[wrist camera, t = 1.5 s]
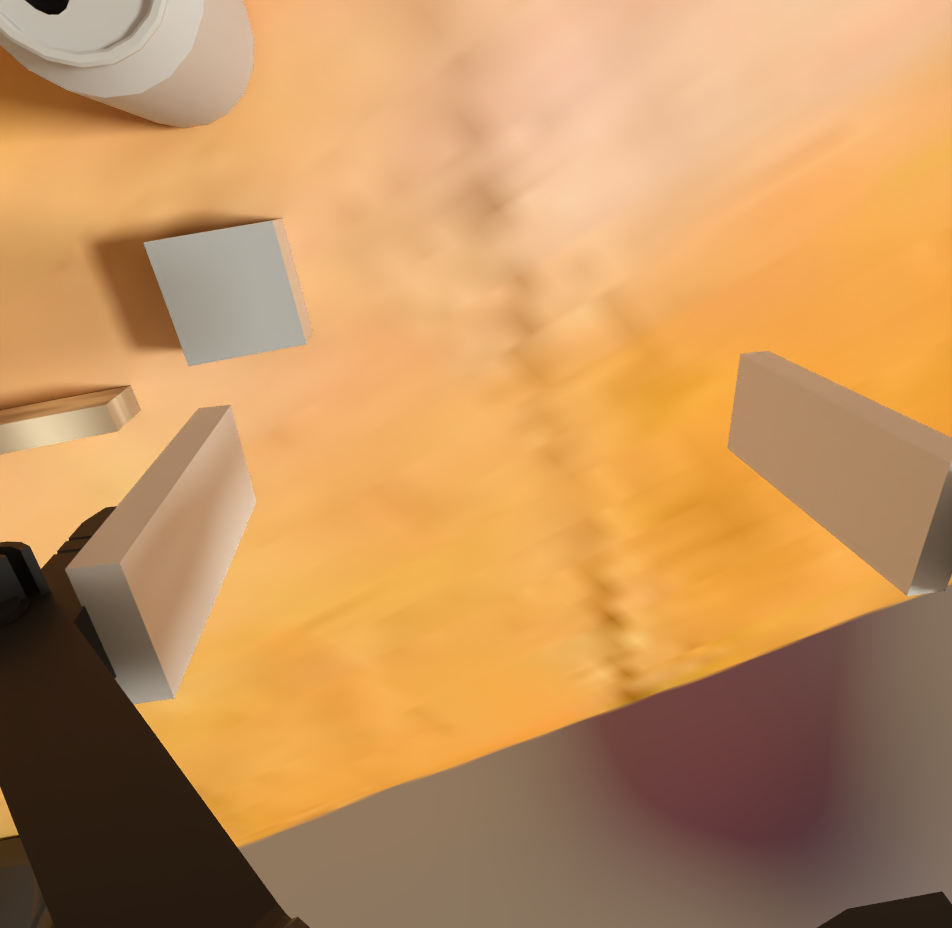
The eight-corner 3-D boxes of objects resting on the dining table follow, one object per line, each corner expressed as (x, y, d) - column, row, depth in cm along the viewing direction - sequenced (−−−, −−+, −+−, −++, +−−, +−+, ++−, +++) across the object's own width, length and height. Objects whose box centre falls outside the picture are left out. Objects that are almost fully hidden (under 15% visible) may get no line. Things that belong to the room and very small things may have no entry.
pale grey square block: (207, 348, 34) (188, 366, 30) (169, 237, 31) (143, 242, 28) (312, 329, 34) (306, 344, 31) (283, 218, 32) (272, 220, 28)
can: (49, -34, 26) (-175, -198, 15) (211, -86, 26) (103, -284, 16) (139, 150, 29) (7, 122, 19) (283, 103, 30) (235, 47, 19)
